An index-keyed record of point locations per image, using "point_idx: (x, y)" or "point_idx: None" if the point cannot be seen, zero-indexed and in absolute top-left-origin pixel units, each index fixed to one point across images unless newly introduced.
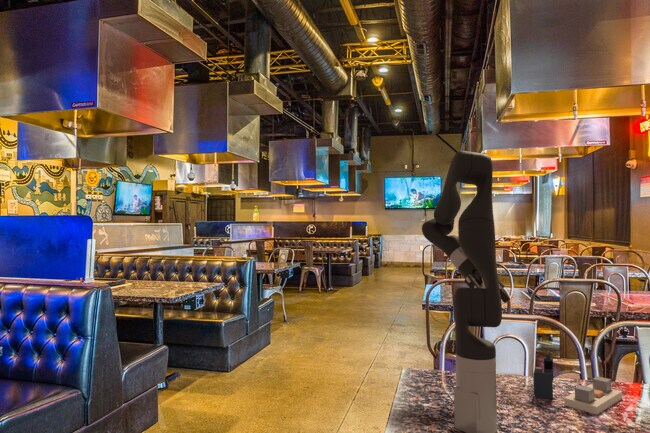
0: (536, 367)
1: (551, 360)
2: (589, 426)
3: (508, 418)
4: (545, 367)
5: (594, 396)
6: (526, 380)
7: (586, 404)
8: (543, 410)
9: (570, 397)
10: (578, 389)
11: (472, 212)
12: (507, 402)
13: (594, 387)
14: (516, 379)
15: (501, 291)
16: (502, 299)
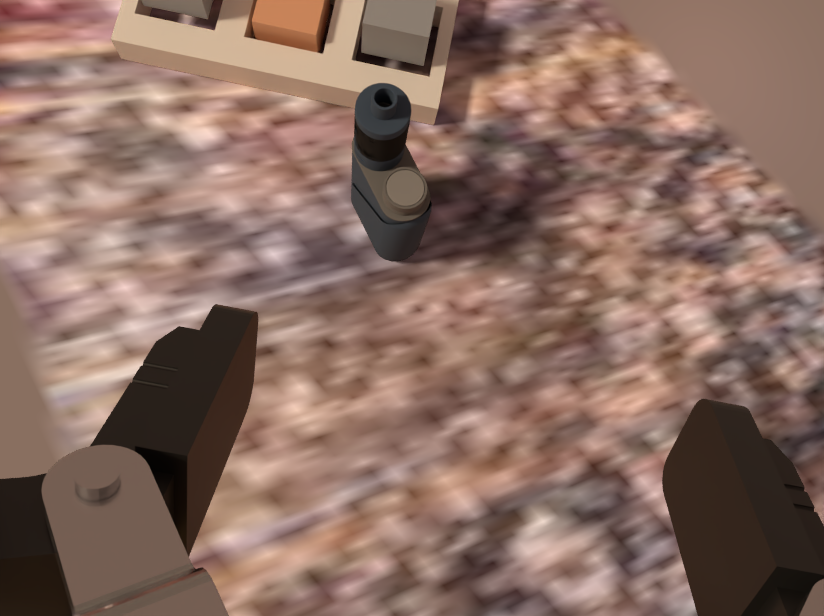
0: (405, 200)
1: (397, 91)
2: (604, 13)
3: (755, 276)
4: (404, 145)
5: (326, 2)
6: None
7: (454, 21)
8: (560, 184)
9: (412, 87)
10: (431, 23)
11: None
12: (576, 339)
13: (207, 7)
14: None
15: (195, 455)
16: (233, 436)
